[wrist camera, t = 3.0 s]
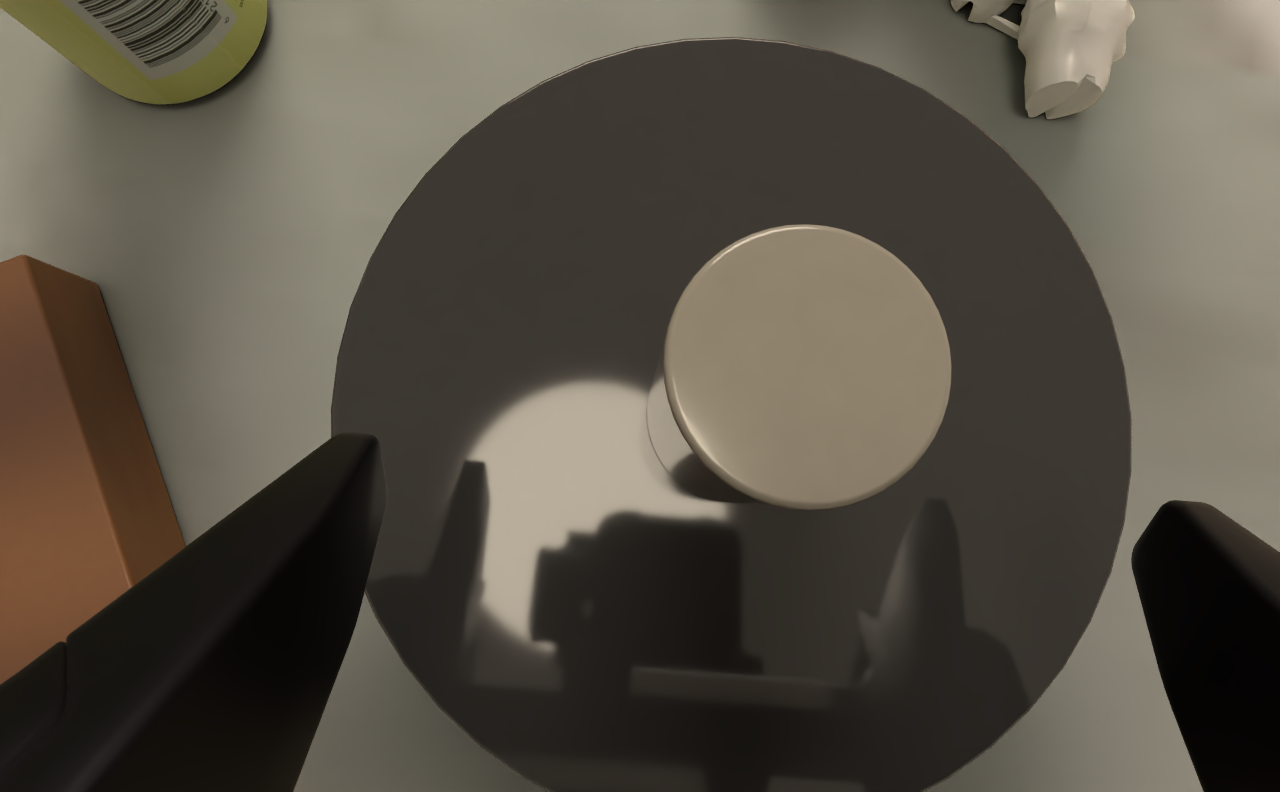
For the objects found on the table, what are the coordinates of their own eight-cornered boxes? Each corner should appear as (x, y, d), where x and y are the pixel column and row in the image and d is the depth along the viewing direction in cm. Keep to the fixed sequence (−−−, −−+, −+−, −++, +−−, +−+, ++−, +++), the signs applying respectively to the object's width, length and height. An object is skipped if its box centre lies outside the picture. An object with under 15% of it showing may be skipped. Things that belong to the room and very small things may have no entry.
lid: (1218, 630, 14) (1698, 738, 8) (511, 941, 13) (413, 1343, 7) (911, -27, 15) (1110, -383, 9) (250, 217, 14) (-30, 8, 8)
